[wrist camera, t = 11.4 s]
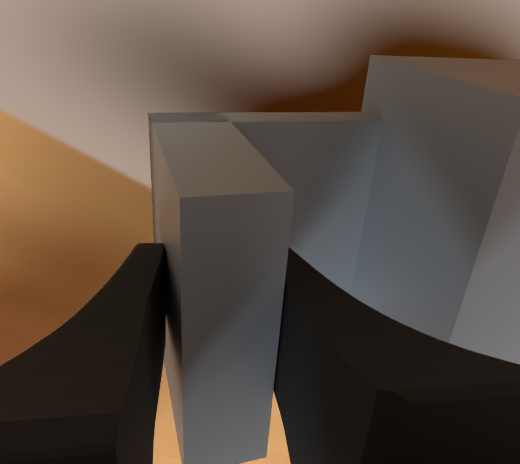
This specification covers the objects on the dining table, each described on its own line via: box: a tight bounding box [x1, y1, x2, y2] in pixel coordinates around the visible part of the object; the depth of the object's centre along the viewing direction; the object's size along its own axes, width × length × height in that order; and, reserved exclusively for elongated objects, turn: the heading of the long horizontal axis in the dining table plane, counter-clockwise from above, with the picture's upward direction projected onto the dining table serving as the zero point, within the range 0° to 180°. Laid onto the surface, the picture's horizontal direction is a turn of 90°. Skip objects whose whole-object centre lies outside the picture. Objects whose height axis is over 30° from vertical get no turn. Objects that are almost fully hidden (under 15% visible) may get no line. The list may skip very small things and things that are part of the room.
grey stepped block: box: [148, 55, 520, 464], centre depth 14 cm, size 17×10×6 cm, turn 86°
